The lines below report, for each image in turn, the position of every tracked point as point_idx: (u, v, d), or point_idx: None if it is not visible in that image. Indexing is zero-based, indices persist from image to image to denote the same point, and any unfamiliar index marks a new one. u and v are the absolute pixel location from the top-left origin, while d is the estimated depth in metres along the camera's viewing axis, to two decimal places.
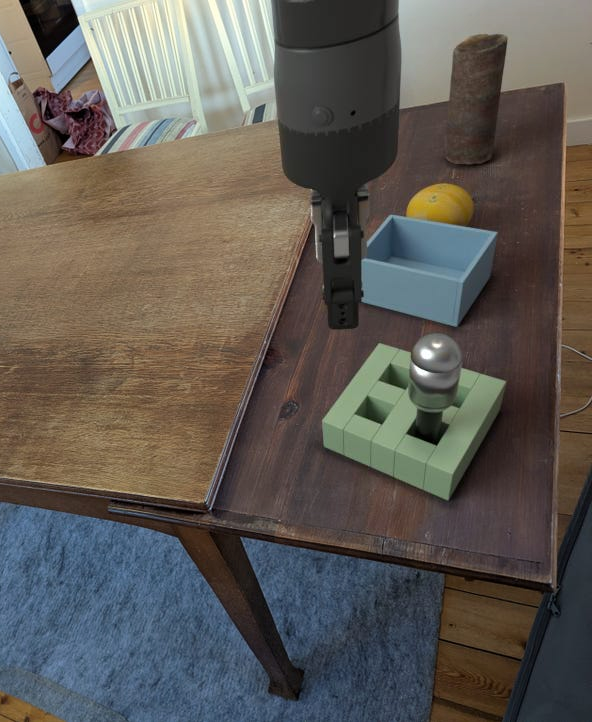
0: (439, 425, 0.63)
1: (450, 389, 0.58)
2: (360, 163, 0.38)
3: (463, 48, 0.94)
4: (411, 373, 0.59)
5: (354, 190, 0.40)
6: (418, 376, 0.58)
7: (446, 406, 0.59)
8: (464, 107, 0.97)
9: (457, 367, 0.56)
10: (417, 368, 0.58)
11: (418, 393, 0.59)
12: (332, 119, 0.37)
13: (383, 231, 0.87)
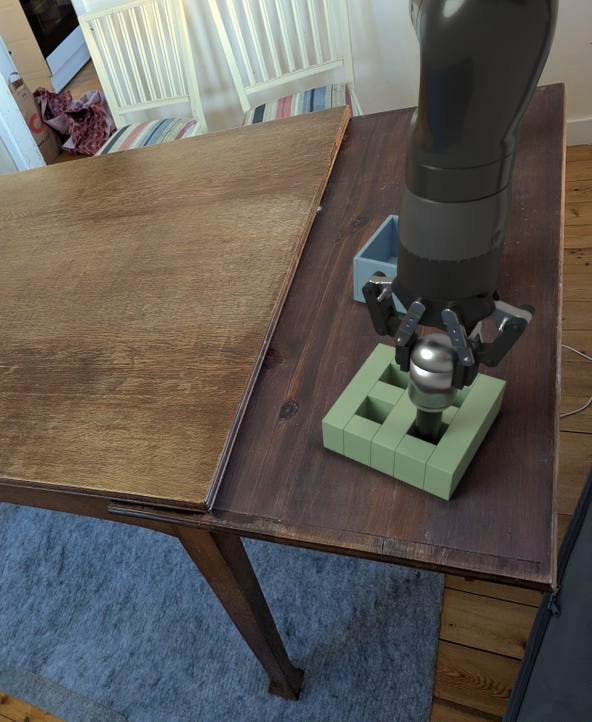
0: (439, 425, 0.63)
1: (450, 389, 0.58)
2: None
3: None
4: (411, 373, 0.59)
5: (496, 278, 0.49)
6: (418, 376, 0.58)
7: (446, 406, 0.59)
8: None
9: None
10: (417, 368, 0.58)
11: (418, 393, 0.59)
12: (503, 234, 0.45)
13: (383, 231, 0.87)
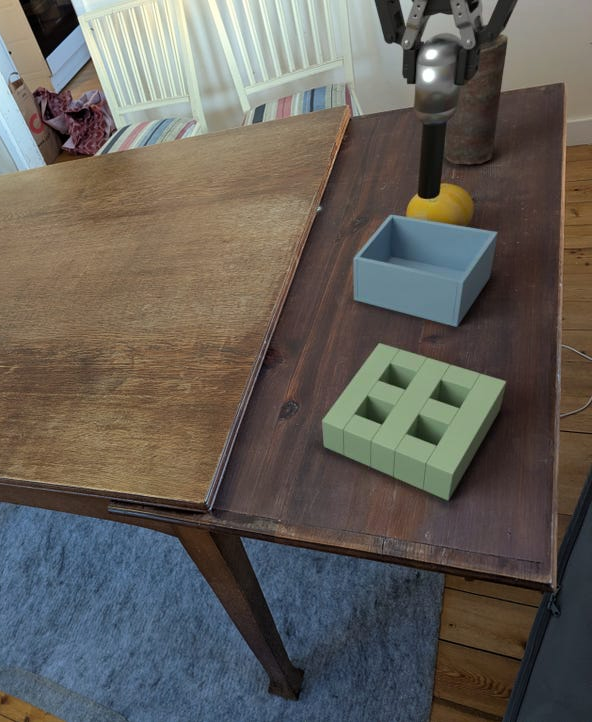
0: (442, 145, 0.68)
1: (453, 87, 0.63)
2: None
3: None
4: (417, 79, 0.64)
5: None
6: (424, 76, 0.63)
7: (449, 111, 0.65)
8: (464, 107, 0.97)
9: None
10: (423, 67, 0.63)
11: (424, 99, 0.65)
12: None
13: (383, 231, 0.87)
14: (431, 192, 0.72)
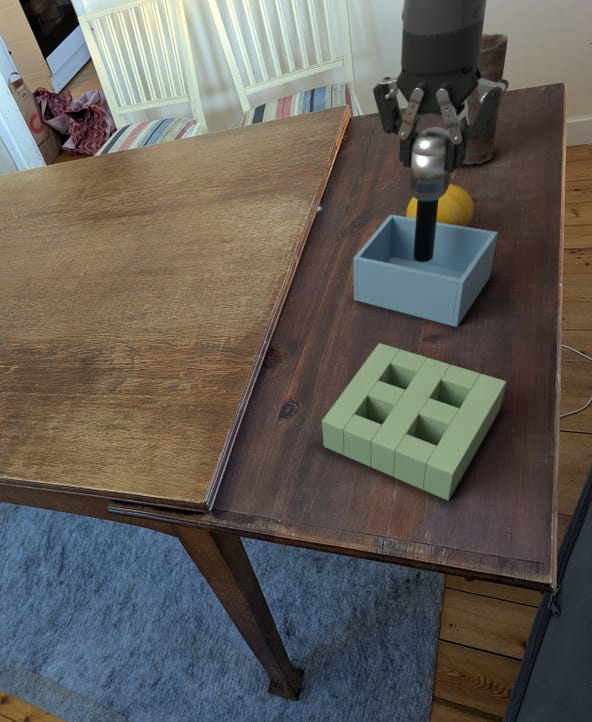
0: (435, 217, 0.78)
1: (443, 173, 0.72)
2: (481, 39, 0.63)
3: None
4: (412, 164, 0.74)
5: (478, 59, 0.64)
6: (418, 163, 0.73)
7: (440, 191, 0.74)
8: None
9: None
10: (417, 156, 0.72)
11: (418, 181, 0.74)
12: (482, 11, 0.60)
13: (383, 231, 0.87)
14: (425, 256, 0.82)
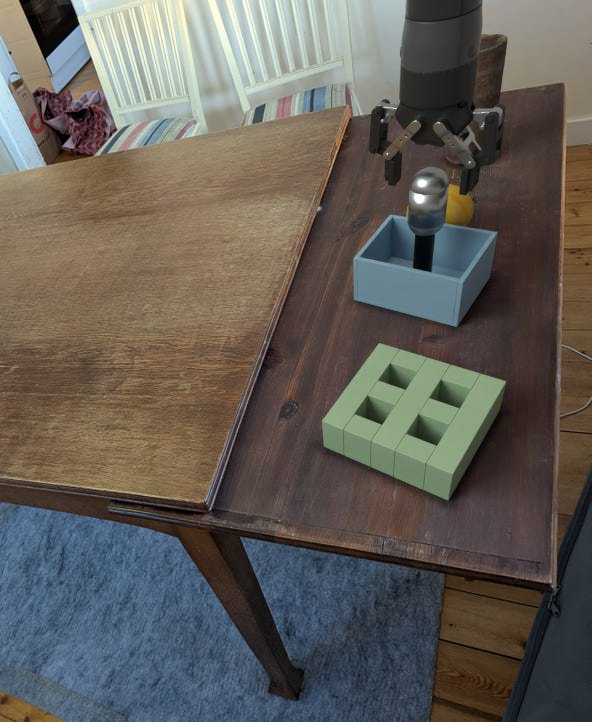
0: (432, 250, 0.81)
1: (439, 210, 0.76)
2: (476, 75, 0.65)
3: None
4: (410, 201, 0.77)
5: (473, 94, 0.66)
6: (415, 201, 0.76)
7: (437, 227, 0.77)
8: None
9: (445, 190, 0.74)
10: (414, 194, 0.76)
11: (415, 217, 0.77)
12: (476, 50, 0.62)
13: (383, 231, 0.87)
14: None
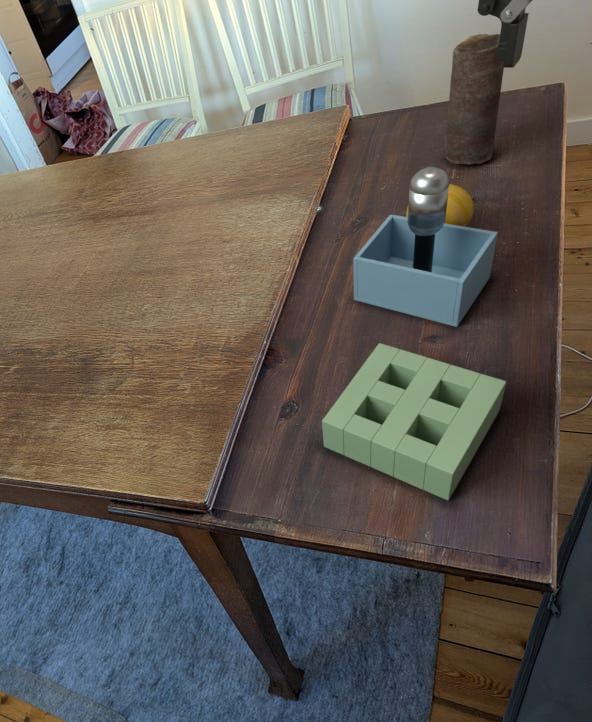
0: (432, 250, 0.81)
1: (439, 210, 0.76)
2: None
3: (463, 48, 0.94)
4: (410, 201, 0.77)
5: None
6: (415, 201, 0.76)
7: (437, 227, 0.77)
8: (464, 107, 0.97)
9: (445, 190, 0.74)
10: (414, 194, 0.76)
11: (415, 217, 0.77)
12: None
13: (383, 231, 0.87)
14: None
